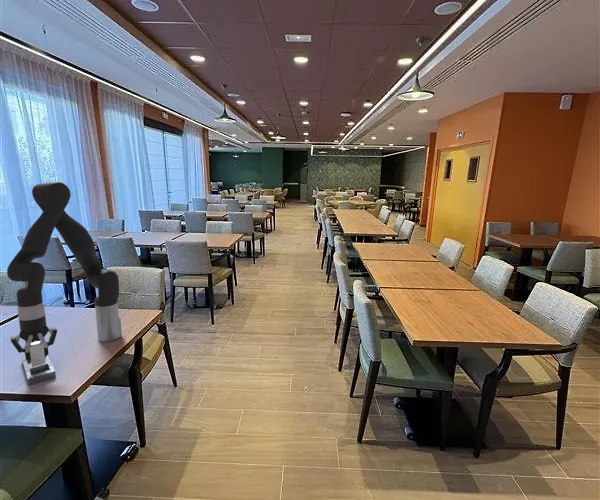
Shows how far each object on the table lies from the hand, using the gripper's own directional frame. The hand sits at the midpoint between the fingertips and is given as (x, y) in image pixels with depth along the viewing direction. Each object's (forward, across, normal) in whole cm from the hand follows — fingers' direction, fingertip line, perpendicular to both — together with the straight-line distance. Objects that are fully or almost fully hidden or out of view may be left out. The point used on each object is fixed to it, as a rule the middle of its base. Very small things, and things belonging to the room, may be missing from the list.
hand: (37, 358), depth 123 cm
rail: (+7, 0, +5) cm, 9 cm away
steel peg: (+2, 0, 0) cm, 2 cm away
